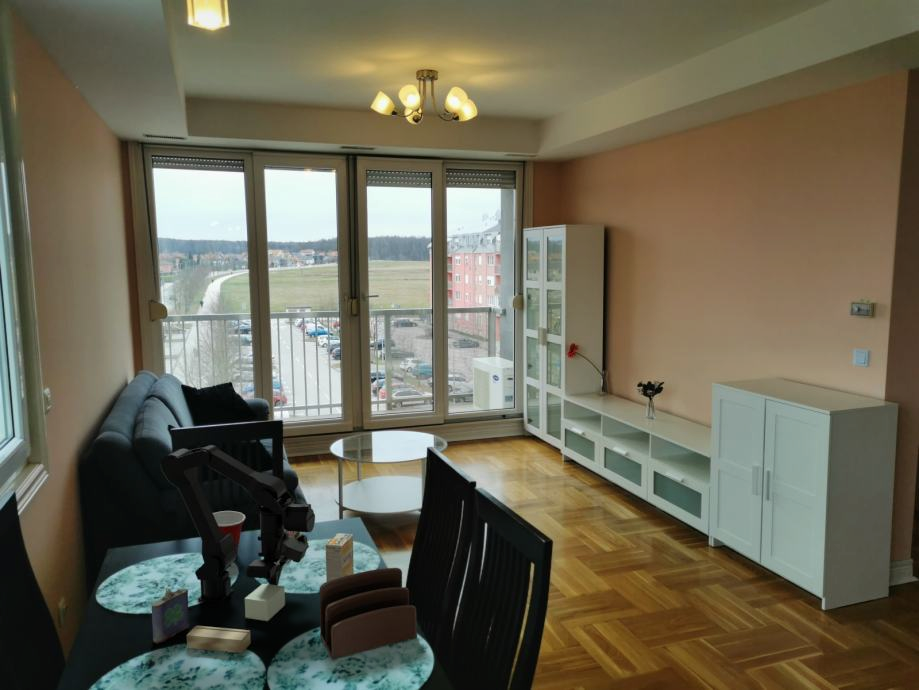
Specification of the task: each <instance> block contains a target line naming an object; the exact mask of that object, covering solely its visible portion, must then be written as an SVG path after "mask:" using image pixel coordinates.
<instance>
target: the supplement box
mask: <svg viewBox="0 0 919 690" xmlns="http://www.w3.org/2000/svg"><path fill="white" fill-rule="evenodd" d="M354 568H355V566H354V534H352V533H339V532H337V533H336V534H335V535H334V536H333V537H332V538H331V539H330V540H329V541H328V542H327V543H326V544H325V573H326V575H325V576H326V580H325V581H326V582H329V581H332V580H335V579H338V578H341V577H345V576H348V575H352V574H355V573H354V572H355V571H354Z"/></svg>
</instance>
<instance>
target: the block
mask: <svg viewBox="0 0 919 690" xmlns="http://www.w3.org/2000/svg"><path fill="white" fill-rule="evenodd" d="M285 593H286V592H285V586H284V585H279V584H278V585H270V584H269V583H262V584H260V585H259V586H258V587H257V588H255V589H254V590H253V591H252V592H251V593H249V594H248V595H247V596H246V597H244V609H245V610H244V613H245V619H252V620H259V621H265V622H269V620H271V619H272V618H273V617H274V616H275V615H276V614H277V613H278V612H279V611H280V610H281V609H282V608H284V606H285V605H286V598H285V597H286V595H285Z"/></svg>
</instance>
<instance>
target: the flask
mask: <svg viewBox="0 0 919 690" xmlns="http://www.w3.org/2000/svg"><path fill="white" fill-rule="evenodd" d="M164 591H165V594H164V596H162V597H161V598H159V599H157V600H155V601H154V602H152V604H151V605H150V606H151V607H150V608H151V620H152V621H151V624H152V640H153V641H152V642H153V643H154V644H159V643H162V642H164V641H167V639H168V640H169V638H172V637H174V636H175V635H176V634H177V633H180V632H182V631H184V630H185V629H188V628H189V626H190V623H189V622H190V619H189V617H190V616H189V611H190V610H189V596H188V595H189V590H188V589H186V588H180V589H179V588H178V589H177V590H175V591H173V590H171V588H169V587H166V588H165V589H164Z"/></svg>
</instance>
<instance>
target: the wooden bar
mask: <svg viewBox="0 0 919 690" xmlns="http://www.w3.org/2000/svg"><path fill="white" fill-rule="evenodd" d="M251 641H252V640H251V630H246V629H239V628H228V627H227V628H226V627H214V626H206V625H205V626H204V625H195V626H194V627H193V628H192V629H191V630H190V631H189V632H188V633H187V634H186V648H187V649H197V650H206V651H207V650H208V651H215V650H220V651H219V652H225V651H228V652H227V653H236V652H238V653H237V654H242V652H243V653H244V652H245V650H246V649H247V648H248V647H249V646H250V644H251Z"/></svg>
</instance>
